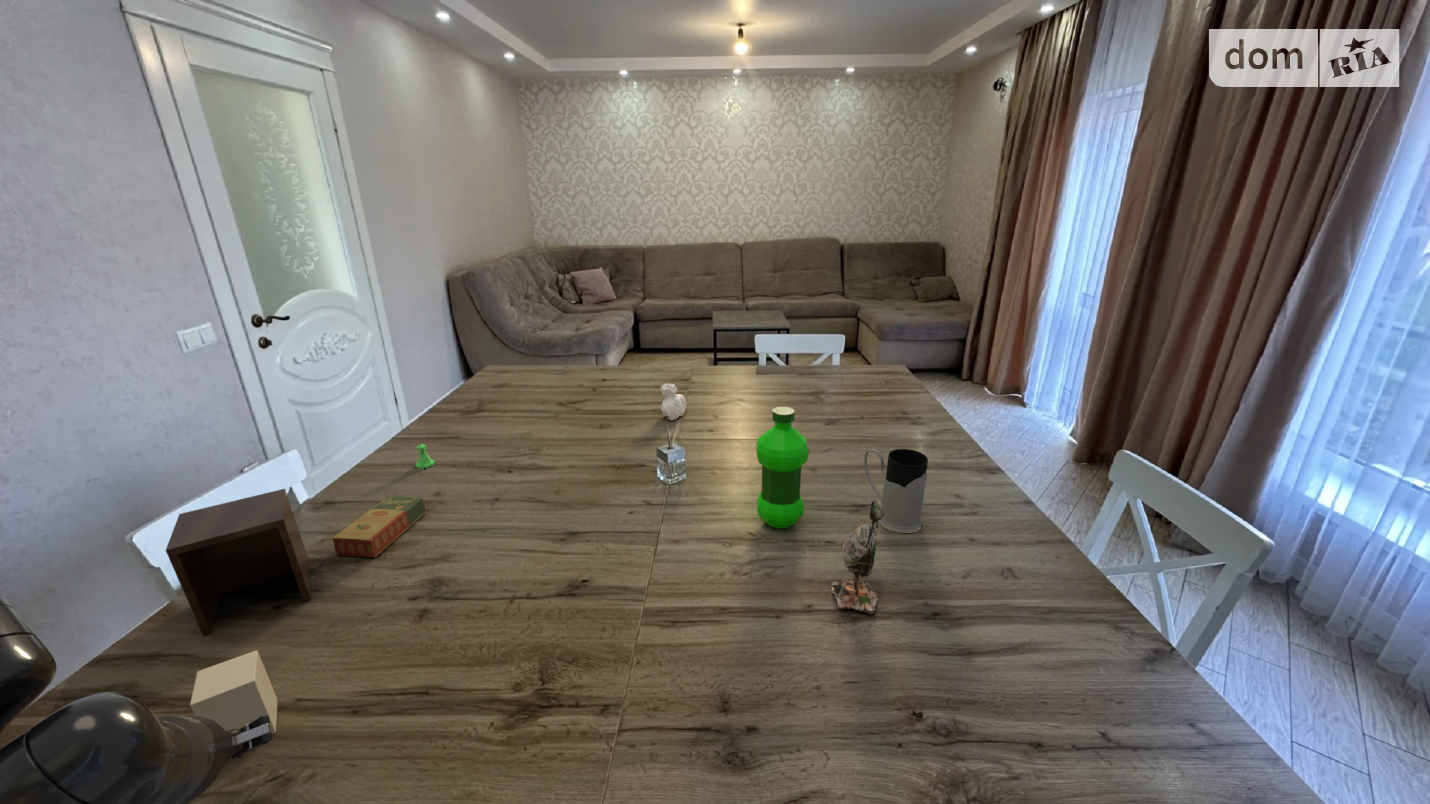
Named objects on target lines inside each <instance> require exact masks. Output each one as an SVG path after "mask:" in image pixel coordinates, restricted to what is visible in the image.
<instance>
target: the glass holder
mask: <svg viewBox="0 0 1430 804" xmlns="http://www.w3.org/2000/svg"><path fill="white" fill-rule="evenodd" d="M870 452H874V453H876V454H877V456H878V457H879V460H880V471H881V473H882V474H884V481H883V490H882V494H881V492H880V491H879V489H878V487H877V486H876V485H875V483H874V482H873V480H872V478H871V475H870V472H869V466H868V456H869V453H870ZM887 455H888V456H887V463H886V470H885V469H884V466H885V460H884V457H883V454H882V453H881V452H880V451H879V450H878V449H875V448H871V449H868V450H866V452H865V453H864V458H863V466H864V471H865V475H866V478H867V481H868V482H869V484H870V486H871V487H872V489H873V490H874V491H875V493H876V495H877V496H878V497H879V499H880V502H881V504H882V506H883V509H884V516H883V517H882V518H881V519H880V520H879V521H881V523H882V524H883V525H885V526H886V527H887V528H890V529H893V530H895V531H897V532H913V531H915V530H917V529H918V528H920V527H921V523H922V520H921V518H922V511H923V505H924V498H925V497H924V496H925V492H926V491H925V490H926V484H927V477H928V473H927V470H928V463H929V458H928V456H927V455H925V454H924V453H922V452H921V451H918V450H914V449H909V448H896V449H892V450H891V451H889V452H888V454H887Z"/></svg>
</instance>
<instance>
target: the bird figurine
mask: <svg viewBox="0 0 1430 804" xmlns="http://www.w3.org/2000/svg"><path fill="white" fill-rule="evenodd" d="M883 516H884V509H883V506H882V502H881V500H879V499H877V498H874V499H872V500H871V506H870V511H869V520H871V524H870V523H866V524H864V523H863V524H861V525H859V526H858V527H857V528H856V529H854V530H853V531H852V532H851V533H850V534H849V535H848V536H847V538H846V539H845V541H844V543H843V544H842V558H843V562H844V566H845V568H846V569H847V571H848V572H849V573H851V574H853V580H850V579H842V578H835V579H832V586H831V592H832V593H833V595H834V599H836V602H837V607H838V608H840V609H841V610H846V609H850V610H851V608H852V609H853V610H855V611H859V612H865V613H866V614H869V615H872V614H874V613H875V612H876V606H877V602H878V600H879V598H878V597H879V594H878V592H877V590H875V589H874V588H873V587H872V585H871V582H869V581H868V580H867V578H868V577H869V576H870V575H871V574H872V570H873V567H874V564H875V556H876V550H877V549H876V548H877V545H876V541H877V532H876V529H879V525H878V524H879V522H878V521H879V520H880V519H881V518H882V517H883ZM874 525H875V526H874ZM875 527H876V529H875ZM844 580H845V581H844ZM853 581H854V582H853Z"/></svg>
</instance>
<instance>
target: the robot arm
mask: <svg viewBox="0 0 1430 804" xmlns="http://www.w3.org/2000/svg"><path fill="white" fill-rule="evenodd" d="M56 673H57V662H56V660H55V657H54V656H53V654H52V653H51V652H50V650H49V649H48V647H47V646H46V645H45V644H44V642H43V641H42V640H41V639H40V638H39V637H38V635H37V634H36V633H35V632H34V631H33V630H32V628H31V627H30V626H29V625H28V623H27V622H26V621H25V620H24V619H23V617H22V616H21V615H20V614H19V613H18V612H17V610H16V609H15V608H14V607H13V606H12V604H11V603H10V602H9V601H8V600H7V599H6V597H5V596H4V595H3V594H2V592H0V735H2V733H3V732H4V730H5V729H6V728H7V727H8V726H9V725H10V724H11V723H12V722H13V721H14V720H15V719H16V718H17V717H18V716H19V715H20V714H21V713H22V712H23V711H24V710H26V709H27V708H28V707H29V706H30V705H31V704H33V702H35V701H36V699H37V698H38V697H40V695H41V694H43V692H44V691H45V690H46V689H47V688H48V687H49V686H50V684H51V683H52V681H53V680H54V678H55V676H56ZM269 722H270V720H269V715H267V716H264V715H263V716H261V717H258V719H257V720H255V721H253V722H251V723H249V724H246V725H244V727H242V728H240V729H231V730H228V731H225V730H224V729H223V728H222V727H221V726H220V725H219V724H218V723H216V722H215V721H213V720H211V719H209V718H205V717H200V716H195V715H168V716H167V715H165V716H156V715H155V713H154V712H153V711H152V710H151V709H150V708H149V707H148V706H147V705H146V704H144V703H143V702H142V701H141V700H139V699H137V698H135V697H133V696H131V695H129V694H126V693H122V692H118V691H103V692H102V691H101V692H97V693H92V694H90V695H87V696H84V697H81V698H78V699H76V700H73V701H72V702H69V703H68V704H66V705H64V706H62V707H60V708H59V709H57V710H55V711H54V712H52V713H50V714H49V715H47V716H46V717H45V718H43V719H42V720H40V721H39V722H37V723H36V724H35V725H33V726H32V727H30V728H29V729H28V730H26V731H24V732H23V733H21V734H20V735H18V736H17V737H15V738H14V739H12V740H11V741H10V742H8V743H6V744H5V745H4V746H2V747H0V804H190V803H191V802H193V801H194V800H196V799H197V798H198V797H200V796H201V795H202V794H204V793H205V791H206V790H208V789H209V788H210V786H212V784H213V783H214V782H215V781H216V779H217V778H218V777H219V775H220V773H221V772H222V770H223V768H224V766H225V765H226V764H228V763H229V762H231V760H233V759H240V758H242V757H243V756H244V755H246V754H248V753H249V752H251V751H253V750H255V749H257V748H259V747H261V746H264V745H266V744H268V743H270V741H273V740H274V738H273V734H272V731H271V725H270V723H269Z"/></svg>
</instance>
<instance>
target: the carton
mask: <svg viewBox="0 0 1430 804" xmlns="http://www.w3.org/2000/svg"><path fill="white" fill-rule="evenodd" d="M426 514H427V509H426V505H425V502H424V499H423V497H421V496H420V497H419V496H418V497H417V496H395V495H388V496H386V497H385V498H383V499H382V500H381V501H380V502H378V503H377V504H376V505H374V506H373V507H372V508H370V509H368V511H366V512H365V513H364V514H362V515H360V517H358V518H357V519H356V520H354V521H353V522H352V523H350V524H349V525H348V526H347V527H345V528H344V529H342V530H341V531H340V532H339V533H337V534H336V535H335V536H333V537H332V542H333V547H334V550H335V554H336V555H337V556H345V557H346V556H347V557H359V558H360V557H361V558H373V559H374V558H376V557H378V556H379V555H380V554H381V553H382V552H383V551H384V550H386V549H387V548H388V547H389V546H390V545H391V544H392V543H394V542H395V540H397V539H398V538H399V537H400V536H401V535H402V534H404V533H405V532H406V531H407V530H409V529H410V528H411V527H412V526H413V525H414V524H416V523H417V522H418V521H419V520H421V518H423V517H424V516H425V515H426Z"/></svg>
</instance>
